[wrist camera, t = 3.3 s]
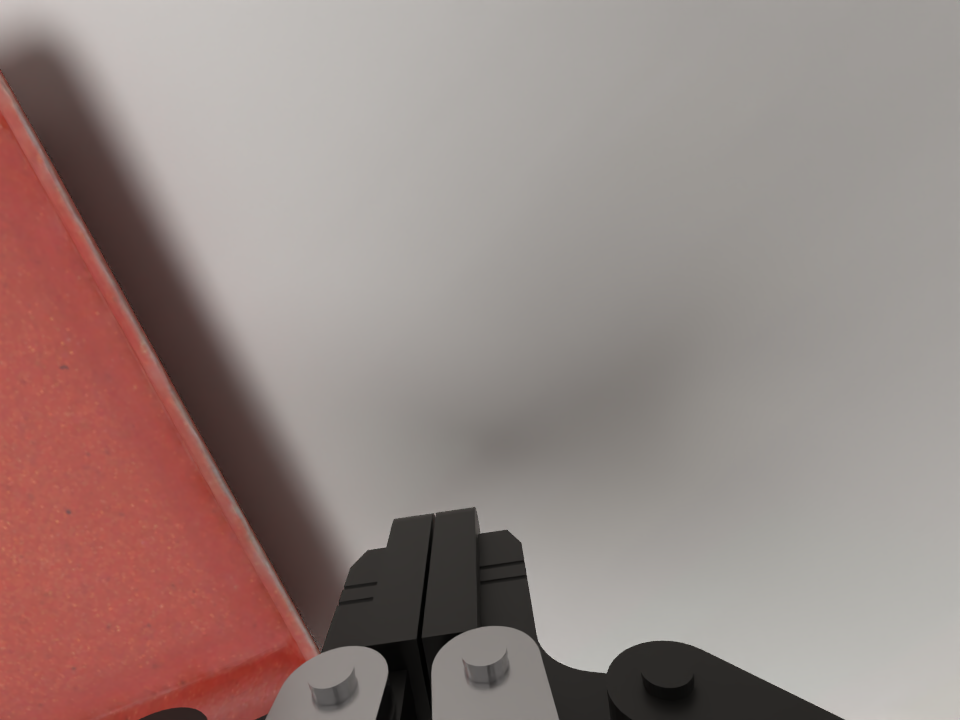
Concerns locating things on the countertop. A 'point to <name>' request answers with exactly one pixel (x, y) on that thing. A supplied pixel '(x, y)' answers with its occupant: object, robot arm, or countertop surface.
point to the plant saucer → (112, 495)
